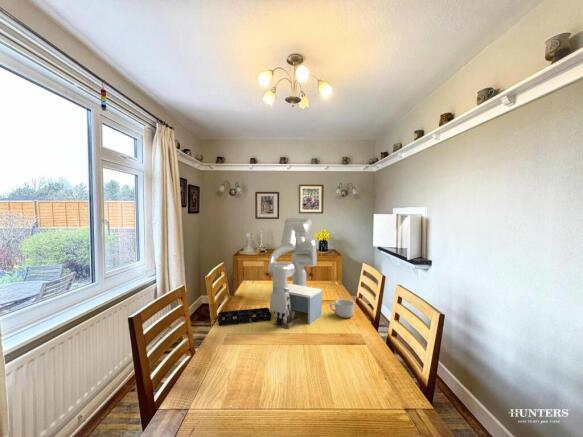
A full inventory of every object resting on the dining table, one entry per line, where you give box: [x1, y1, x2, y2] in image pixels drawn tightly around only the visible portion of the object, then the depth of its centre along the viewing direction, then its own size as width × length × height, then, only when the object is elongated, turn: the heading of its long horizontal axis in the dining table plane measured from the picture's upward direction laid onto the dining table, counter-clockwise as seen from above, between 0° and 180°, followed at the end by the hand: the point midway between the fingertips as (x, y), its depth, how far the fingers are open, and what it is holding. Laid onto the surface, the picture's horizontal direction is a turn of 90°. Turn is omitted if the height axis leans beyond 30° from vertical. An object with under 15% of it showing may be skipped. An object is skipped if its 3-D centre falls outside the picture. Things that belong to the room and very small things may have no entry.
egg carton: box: [217, 307, 272, 327], centre depth 147 cm, size 18×30×4 cm, turn 117°
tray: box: [273, 304, 302, 330], centre depth 142 cm, size 12×9×10 cm
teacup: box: [329, 298, 355, 319], centre depth 152 cm, size 14×11×8 cm
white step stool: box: [287, 283, 323, 325], centre depth 152 cm, size 14×22×15 cm, turn 58°
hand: (279, 325), depth 136 cm, fingers closed
